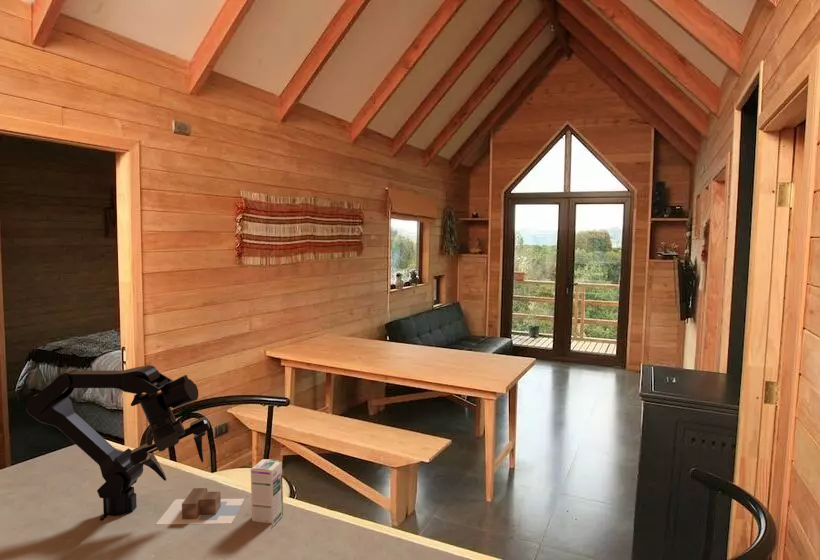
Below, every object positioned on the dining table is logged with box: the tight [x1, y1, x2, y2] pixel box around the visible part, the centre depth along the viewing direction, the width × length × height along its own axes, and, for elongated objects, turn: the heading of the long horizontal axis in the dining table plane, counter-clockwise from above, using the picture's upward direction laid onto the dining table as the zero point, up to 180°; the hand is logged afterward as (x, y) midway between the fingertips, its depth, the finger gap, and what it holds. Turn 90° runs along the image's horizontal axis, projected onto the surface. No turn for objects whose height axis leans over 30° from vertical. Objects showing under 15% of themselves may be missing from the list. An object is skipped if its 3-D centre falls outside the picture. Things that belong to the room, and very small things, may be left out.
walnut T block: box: [182, 487, 222, 520], centre depth 132 cm, size 8×8×4 cm
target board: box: [155, 498, 245, 525], centre depth 132 cm, size 18×12×1 cm, turn 93°
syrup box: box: [250, 459, 284, 528], centre depth 130 cm, size 6×6×14 cm
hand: (184, 470), depth 131 cm, fingers open, 9 cm apart
